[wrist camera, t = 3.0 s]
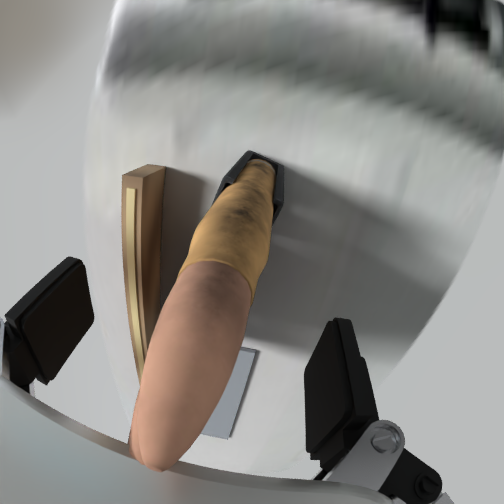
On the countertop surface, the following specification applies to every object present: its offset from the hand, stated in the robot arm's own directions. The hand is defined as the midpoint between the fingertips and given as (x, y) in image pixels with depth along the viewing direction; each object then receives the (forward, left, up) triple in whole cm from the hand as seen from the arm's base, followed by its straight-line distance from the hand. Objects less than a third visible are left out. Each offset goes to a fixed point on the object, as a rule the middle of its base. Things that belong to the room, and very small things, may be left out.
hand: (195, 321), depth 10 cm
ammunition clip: (0, 0, -6) cm, 6 cm away
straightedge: (+7, -4, -5) cm, 10 cm away
